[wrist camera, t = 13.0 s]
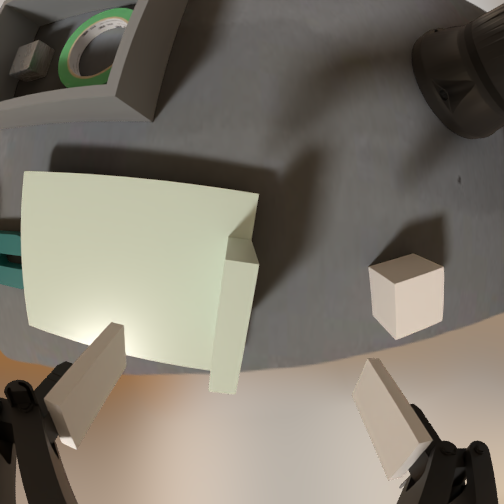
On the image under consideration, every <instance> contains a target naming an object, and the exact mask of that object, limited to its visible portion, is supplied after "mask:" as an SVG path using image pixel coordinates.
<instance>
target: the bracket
mask: <svg viewBox="0 0 504 504" xmlns="http://www.w3.org/2000/svg"><path fill="white" fill-rule="evenodd" d="M7 254H9V255H17V256H21V232H17V231H0V284H2V285H7V286H11V287H15V288H19V289H24V284H23V273H22V264H19V263H12V262H9V261H8V259H7Z"/></svg>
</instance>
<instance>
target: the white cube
mask: <svg viewBox="0 0 504 504" xmlns="http://www.w3.org/2000/svg"><path fill="white" fill-rule="evenodd" d="M368 267H369V276H370V286H371V298H372V311H373V316H374V317H375V318H376V319H377V321H378V322H379V323H380V324H381V325H382V326H383V327H384V328H385V329H386V330H387V331H388V332H389V333H390V334H391V335H392V336H393V338H394V339H395V340H397V339H400V338H402V337H405V336H408V335H410V334H412V333H415V332H417V331H420V330H422V329H425V328H427V327H429V326H431V325H434V324H436V323H438V322H440V321H442V318H443V300H444V267H443V266H441V265H438V264H436V263H434V262H432V261H430V260H427V259H425V258H423V257H421V256H418V255H416V254H414V253H413V254H409V255H406V256H403V257H400V258H396V259H393V260H389V261H386V262H382V263H379V264H376V265H372V266H368Z"/></svg>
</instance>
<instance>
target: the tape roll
mask: <svg viewBox="0 0 504 504" xmlns="http://www.w3.org/2000/svg"><path fill="white" fill-rule="evenodd" d="M132 12H133V10H132V9H128V8H115V9H110V10H106V11H104V12H101V13H99V14H97V15H95V16H93V17H91V18H90V19H88V20H87V21H85V22H84V23H83V24H82V25H81V26H80V27H79V28H78V29H77V30H76V31H75V32H74V33H73V34H72V35H71V37H70V38H69V39H68V41H67V42H66V44H65V46H64V48H63V50H62V52H61V55H60V58H59V63H58V74H59V78H60V80H61V82H62V83H63V85H64V86H65V87H67V88H73V87H82V86H92V85H104V84H107V81H108V78H109V74H110V71H111V68H112V65H113V64H112V65H111V66H109V67H108V68H107V69H105V70H104V71H102V72H100V73H98V74H95V75H92V76H81V75H80V73H79V60H80V57H81V54H82V52H83V51H84V49H85V48H86V46H87V45H88V44H89V43H90V42H91V40H93V39H94V38H95V37H96V36H98V35H99V34H101V33H102V32H104V31H106V30H109V29H112V28H117V27H123V28H126V26H127V24H128V21H129V19H130V17H131V14H132Z"/></svg>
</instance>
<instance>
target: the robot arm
mask: <svg viewBox="0 0 504 504" xmlns="http://www.w3.org/2000/svg"><path fill="white" fill-rule="evenodd" d="M412 64H413V70H414V74H415V77H416V80H417V83H418V85H419V88H420V90H421V92H422V94H423V96H424V98H425V100H426V101H427V103H428V105H429V106H430V108H431V109H432V110H433V112H434V113H435V114H436V116H437V117H438V118H439V119H440V120H441V122H442V123H443V124H444V125H445V126H447V127H448V128H449V129H450V130H451V131H453V132H454V133H456V134H457V135H459V136H461V137H464V138H467V139H478V138H485V137H488V136H490V135H492V134H493V133H494V132H495V131H497V130H498V129H500V128H501V127H503V126H504V4H502V5H500V6H498V7H497V8H495V9H493V10H491V11H489V12H487V13H486V14H484V15H482V16H481V17H479V18H477V19H475V20H474V21H472V22H470V23H469V24H467V25H464V26H455V27H450V28H447V29H443V28H439V29H433V30H431V31H429V32H427V33H426V34H424V35H423V36H422V37H420V38H419V39H418V40H417V41H416V43H415V44H414V47H413V51H412ZM125 368H126V353H125V335H124V325H121V324H117V323H114V322H111V323H110V324H109V325H108V326H107V327H106V328H105V329H104V330H103V332H102V333H101V334H100V335H99V336H98V337H97V338H96V339H95V340H94V341H93V342H92V343H91V345H90V346H89V347H88V348H87V349H86V350H85V351H84V352H83V353H82V355H81V356H80V357H79V358H78V359H77V360H76V361H75V362H74V364H72V363H69V362H66V361H65V362H63V363H61V364H59V365H57V366H56V367H55V368H54V370H53V371H52V372H51V373H50V374H49V375H48V376H47V378H45V379H44V380H43V382H42V383H41V384H40V385H39V386H38V387H37V388H36V389H35V390H34V391H33V388H32V386H31V385H30V384H29V383H28V382H26V381H24V380H16V381H12V382H10V383H8V384H7V386H6V387H5V390H4V393H5V395H6V397H7V399H4V398H0V504H16V500H15V498H16V497H15V477H16V475H15V474H16V457H17V459H18V464H19V469H20V473H21V478H22V482H23V486H24V490H25V493H26V496H27V500H28V503H29V504H78V503H77V501H76V499H75V496H74V494H73V491H72V489H71V486H70V483H69V481H68V478H67V476H66V473H65V470H64V467H63V464H62V461H61V458H60V455H59V451H58V448H57V444H56V442H55V440H56V438H57V436H58V435H59V437H60V439H61V442H62V443H63V444H65V445H68V446H70V447H72V448H74V449H78V447H79V445H80V444H81V442H82V440H83V438H84V437H85V435H86V433H87V431H88V430H89V428H90V426H91V424H92V423H93V421H94V419H95V418H96V416H97V414H98V412H99V411H100V409H101V407H102V406H103V404H104V402H105V401H106V399H107V397H108V395H109V394H110V392H111V391H112V389H113V387H114V386H115V384H116V382H117V381H118V379H119V378H120V376H121V374H122V373H123V371H124V370H125ZM352 397H353V400H354V402H355V404H356V407H357V409H358V411H359V413H360V415H361V418H362V420H363V422H364V425H365V427H366V429H367V431H368V434H369V436H370V438H371V441H372V443H373V445H374V448H375V450H376V452H377V455H378V457H379V459H380V462H381V464H382V467H383V469H384V471H385V474H386V476H387V479H388V480H393V479H397V478H401V477H402V476H403V475H404V474H405V473H406V472H407V471H408V470H409V472H410V474H411V475H410V476H409V477H408V478H407V479H406V480H405V481H404V482H403V483H402V484H401V486H400V487H399V488H402V487H403V486H404V485H405V486H404V488H403V491H402V493H401V495H400V497H399V500H398V502H397V504H498V498H497V491H496V484H495V478H494V471H493V466H492V461H491V457H490V452H489V449H488V447H487V445H486V444H485V443H483V442H481V441H474V442H472V443H471V444H470V445H469V446H468V448H463V449H461V448H460V449H459V448H458V449H457V448H456V446H455V445H454V444H453V443H451V442H449V441H441V439H440V438H439V436H438V435H437V433H436V432H435V430H434V429H433V427H432V426H431V424H430V423H429V421H428V420H427V418H425V415H424V414H423V412H422V411H421V410H420V409H419V408H418V407H417V406H416V405H414V404H409V403H408V401H407V399H406V398H405V396H404V395H403V393H402V392H401V390H400V389H399V387H398V386H397V384H396V383H395V381H394V380H393V378H392V377H391V375H390V374H389V373H388V371H387V370H386V368H385V367H384V366H383V364H382V362H381V361H380V360H379V359H371V358H368V359H367V361H366V363H365V366H364V368H363V371H362V373H361V375H360V378H359V380H358V382H357V384H356V387H355V389H354V391H353V393H352ZM466 479H467V484H466V485H465V480H466Z"/></svg>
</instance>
